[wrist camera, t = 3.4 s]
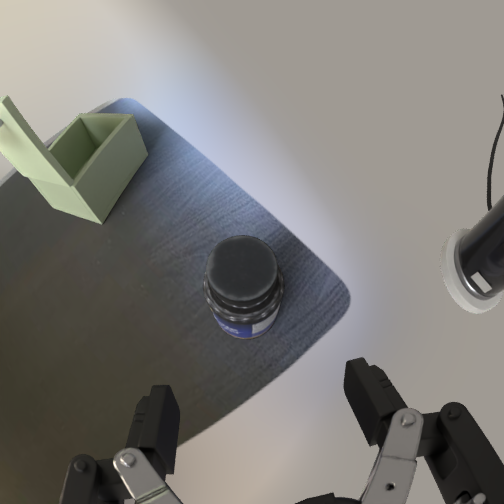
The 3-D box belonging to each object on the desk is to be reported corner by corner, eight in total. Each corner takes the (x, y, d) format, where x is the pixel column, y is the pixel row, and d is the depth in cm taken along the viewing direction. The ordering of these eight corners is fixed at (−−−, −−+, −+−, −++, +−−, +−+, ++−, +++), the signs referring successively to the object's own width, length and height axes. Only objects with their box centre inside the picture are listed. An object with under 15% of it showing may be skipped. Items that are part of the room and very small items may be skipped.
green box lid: (-28, 106, 15) (-54, 142, 13) (7, 94, 13) (-29, 141, 12) (26, 171, 28) (8, 202, 26) (74, 181, 26) (52, 220, 24)
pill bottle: (203, 307, 28) (176, 261, 19) (249, 270, 30) (245, 209, 20) (243, 353, 26) (236, 332, 16) (290, 312, 28) (308, 268, 18)
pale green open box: (97, 147, 40) (79, 113, 33) (148, 154, 39) (133, 114, 32) (53, 208, 35) (26, 176, 28) (102, 224, 33) (74, 187, 26)
